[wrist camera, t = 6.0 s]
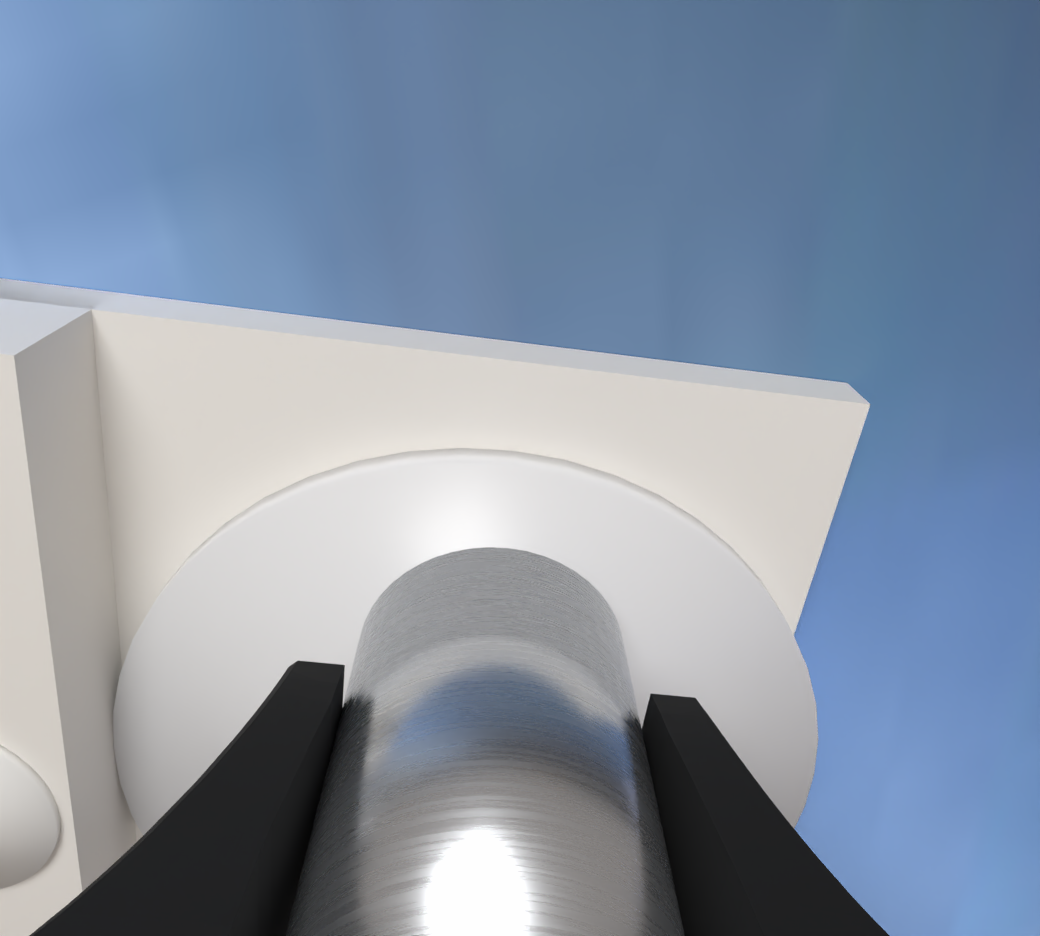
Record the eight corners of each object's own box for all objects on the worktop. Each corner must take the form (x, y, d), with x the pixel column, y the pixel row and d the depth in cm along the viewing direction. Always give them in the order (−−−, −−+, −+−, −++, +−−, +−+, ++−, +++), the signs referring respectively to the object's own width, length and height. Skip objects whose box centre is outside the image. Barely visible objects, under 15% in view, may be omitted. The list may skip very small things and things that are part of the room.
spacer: (676, 619, 12) (808, 1045, 7) (538, 793, 14) (561, 1258, 9) (435, 501, 12) (376, 886, 6) (314, 701, 13) (180, 1156, 8)
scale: (903, 389, 14) (1017, 482, 11) (696, 987, 21) (730, 1150, 18) (-145, 260, 13) (-353, 322, 10) (-9, 939, 20) (-106, 1105, 17)
